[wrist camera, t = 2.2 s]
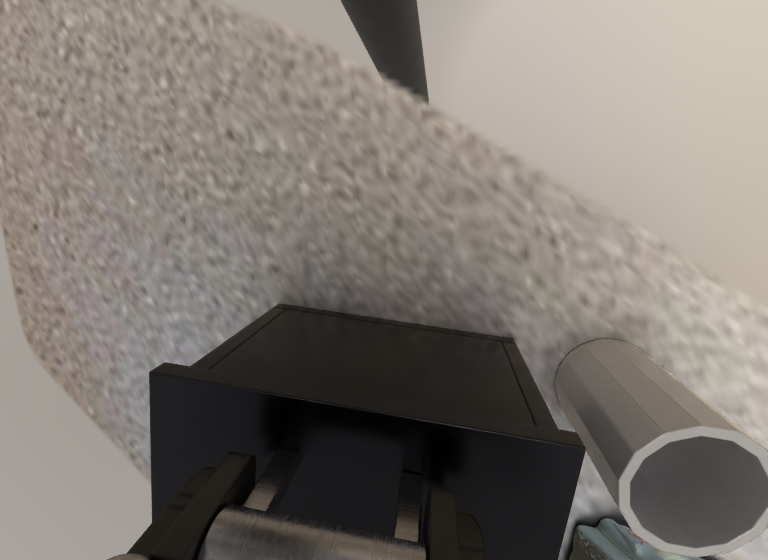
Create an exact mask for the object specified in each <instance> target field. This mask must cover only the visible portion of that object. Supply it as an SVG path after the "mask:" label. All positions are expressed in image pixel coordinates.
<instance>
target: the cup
mask: <svg viewBox="0 0 768 560" xmlns="http://www.w3.org/2000/svg"><path fill="white" fill-rule="evenodd" d="M555 391H556V395H557V398H558V401H559V403H560V405H561V407H562V408H563V410H564V412H565V414H566V416H567V417H568V419H569V421H570V423H571V424H572V426H573V428H574V430H575V432H576V433H578V435H579V436H580V438H581V440H582V442H583V443H584V445H585V447H586V451H587V453H588V455H589V457H590V458H591V460H592V462H593V464H594V465H595V467H596V469H597V471H598V473H599V474H600V476H601V478H602V480H603V481H604V483H605V485H606V487H607V489H608V490H609V492H610V494H611V496H612V498H613V499H614V501H615V503H616V505H617V506H618V508H619V510H620V512H621V513H622V515H623V517H624V518H625V520H626V522H627V523H628V525H629V527H630V528H631V530H632V532H633V533H634V534H636V535H637V536H639V537H640V538H642V539H643V540H645V541H646V542H648V543H649V544H651V545H653V546H654V547H656V548H657V549H659V550H661V551H664V552H669V553H674V554H679V555H685V556H690V557H702V556H709V555H715V554H722V553H728V552H730V551H731V552H732V551H734V550H735V549H737V548H739V547H741V546H743V545H744V544H746V543H748V542H750V541H752V540H753V539H755V538H757V537H759V536H760V534H762V533H763V532H764V531H765V529H766V528H767V527H768V450H767V449H766V448H765V447H763V446H762V445H761V444H760V443H758V442H757V441H756V440H755V439H753V438H752V437H751V436H750V435H748V434H747V433H746V432H745V431H743V430H742V429H741V428H739V427H738V426H737V425H736V424H734V423H733V422H732V421H731V420H729V419H728V418H727V417H726V416H724V415H723V414H722V413H721V412H719V411H718V410H717V409H716V408H714V407H713V406H712V405H710V404H709V403H708V402H707V401H705V400H704V399H703V398H702V397H700V396H699V395H698V394H697V393H695V392H694V391H693V390H692V389H690V388H689V387H688V386H687V385H685V384H684V383H683V382H682V381H680V380H679V379H678V378H676V377H675V376H674V375H673V374H671V373H670V372H669V371H668V370H666V369H665V368H664V367H663V366H661V365H660V364H659V363H658V362H656V361H655V360H654V359H653V358H651V357H650V356H649V355H647V354H645V353H644V352H643V351H641V350H640V349H639V348H637V347H636V346H634V345H632V344H630V343H627V342H624V341H621V340H616V339H600V340H594V341H590V342H588V343H585V344H583V345H581V346H579V347H577V348H576V349H574V350H573V351H572V352H570V353H569V354H568V355H567V356H566V357H565V359H564V360H563V361H562V363H561V364H560V366H559V368H558V371H557V374H556V378H555Z"/></svg>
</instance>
